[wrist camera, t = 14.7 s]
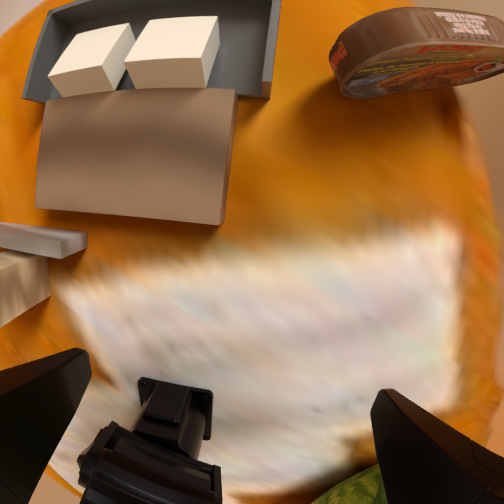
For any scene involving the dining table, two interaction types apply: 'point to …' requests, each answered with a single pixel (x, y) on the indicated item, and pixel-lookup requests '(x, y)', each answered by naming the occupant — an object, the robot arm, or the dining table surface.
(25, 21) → the dining table surface
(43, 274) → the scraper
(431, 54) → the tin
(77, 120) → the board
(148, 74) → the tile
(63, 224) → the dining table surface
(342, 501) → the lettuce
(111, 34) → the tile
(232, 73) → the tray
